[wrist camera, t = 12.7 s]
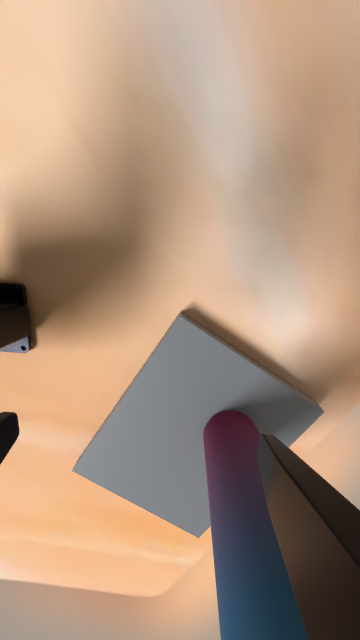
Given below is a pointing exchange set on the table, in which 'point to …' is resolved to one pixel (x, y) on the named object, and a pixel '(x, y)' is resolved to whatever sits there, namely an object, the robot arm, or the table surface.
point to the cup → (245, 538)
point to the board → (186, 422)
